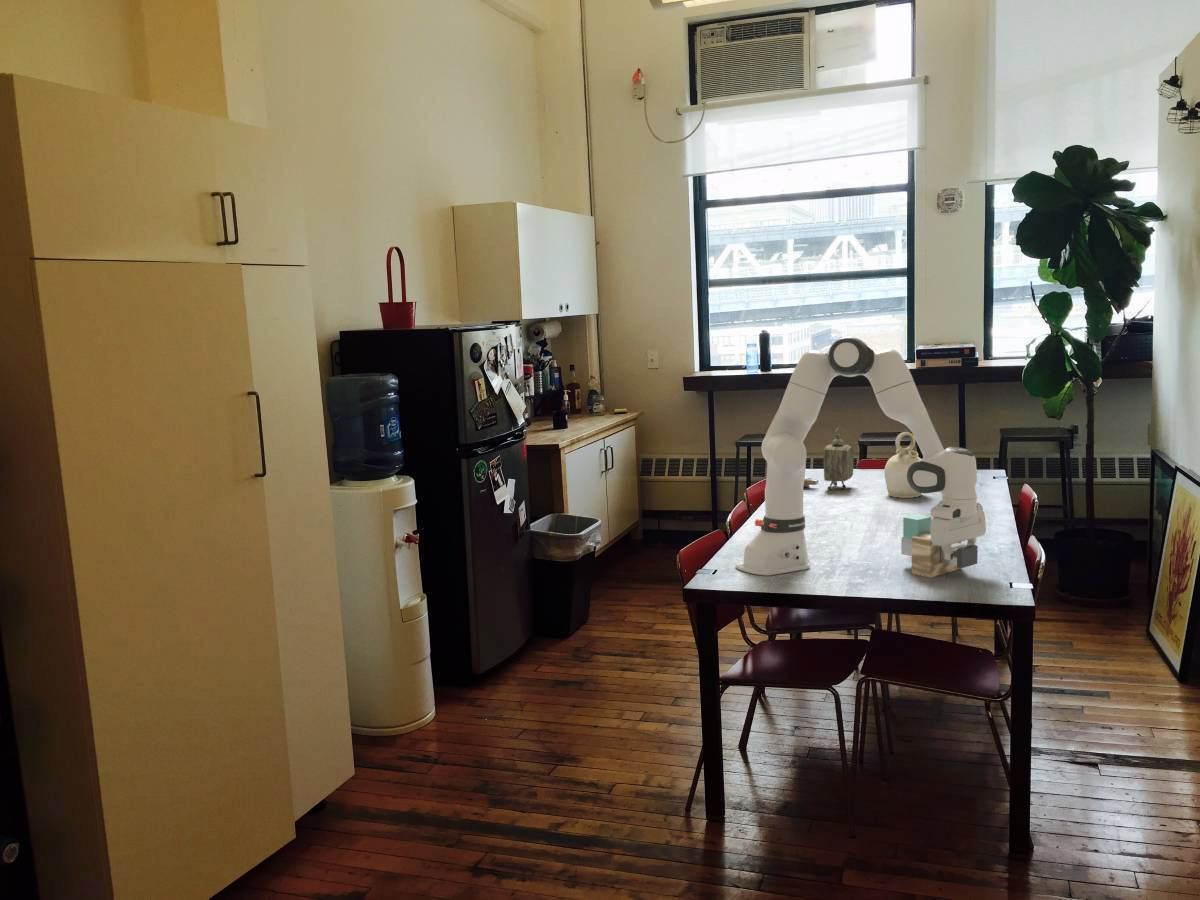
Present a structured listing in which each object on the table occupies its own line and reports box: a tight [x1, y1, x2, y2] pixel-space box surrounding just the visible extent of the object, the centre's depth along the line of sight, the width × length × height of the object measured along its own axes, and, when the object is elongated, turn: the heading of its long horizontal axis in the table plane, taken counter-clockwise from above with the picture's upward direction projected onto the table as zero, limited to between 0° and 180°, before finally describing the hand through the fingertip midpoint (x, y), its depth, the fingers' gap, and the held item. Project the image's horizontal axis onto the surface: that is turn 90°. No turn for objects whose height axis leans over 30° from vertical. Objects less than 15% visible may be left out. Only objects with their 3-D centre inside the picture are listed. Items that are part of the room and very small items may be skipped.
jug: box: [883, 431, 923, 499], centre depth 384 cm, size 15×16×25 cm
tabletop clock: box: [823, 427, 854, 491], centre depth 404 cm, size 14×9×25 cm, turn 154°
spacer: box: [902, 514, 932, 540], centre depth 282 cm, size 6×5×6 cm
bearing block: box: [911, 532, 962, 579], centre depth 277 cm, size 14×6×10 cm, turn 125°
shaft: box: [900, 536, 979, 569], centre depth 277 cm, size 7×20×5 cm, turn 35°
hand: (958, 556), depth 272 cm, fingers open, 8 cm apart
